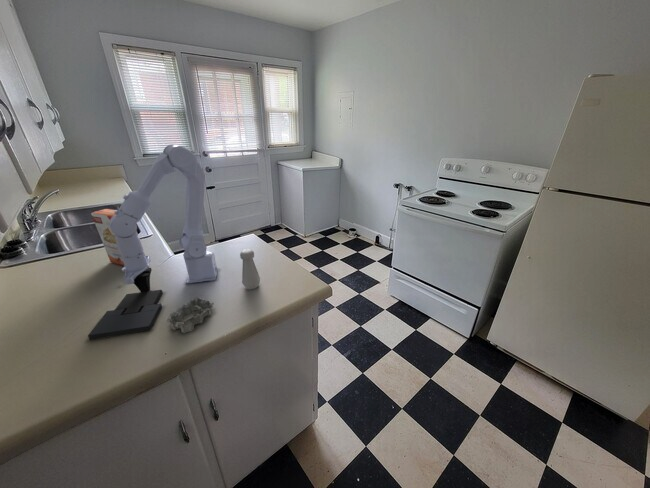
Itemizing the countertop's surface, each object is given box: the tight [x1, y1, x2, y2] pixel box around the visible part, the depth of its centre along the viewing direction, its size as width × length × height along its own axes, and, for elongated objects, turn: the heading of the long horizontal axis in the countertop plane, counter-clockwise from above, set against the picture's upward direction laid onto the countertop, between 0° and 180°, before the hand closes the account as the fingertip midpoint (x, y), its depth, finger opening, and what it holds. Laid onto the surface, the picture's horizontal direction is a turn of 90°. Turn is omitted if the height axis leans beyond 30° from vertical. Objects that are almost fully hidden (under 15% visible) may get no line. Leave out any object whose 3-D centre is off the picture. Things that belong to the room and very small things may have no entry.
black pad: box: [114, 289, 163, 315], centre depth 81 cm, size 10×11×2 cm
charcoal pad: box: [87, 303, 163, 341], centre depth 74 cm, size 14×10×2 cm
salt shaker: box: [239, 248, 261, 291], centre depth 87 cm, size 6×6×13 cm
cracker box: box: [90, 208, 140, 267], centre depth 102 cm, size 14×6×21 cm, turn 67°
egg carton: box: [166, 295, 215, 334], centre depth 74 cm, size 11×8×4 cm
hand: (145, 291), depth 86 cm, fingers closed
